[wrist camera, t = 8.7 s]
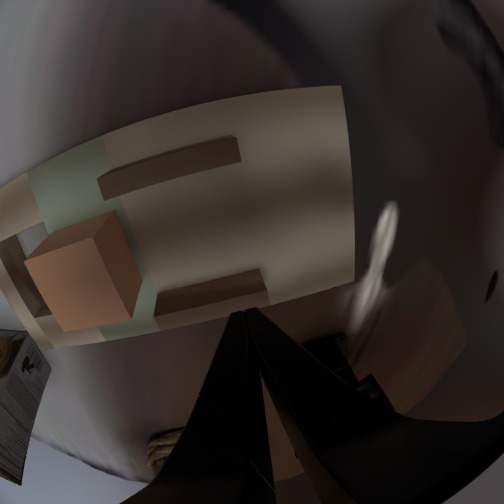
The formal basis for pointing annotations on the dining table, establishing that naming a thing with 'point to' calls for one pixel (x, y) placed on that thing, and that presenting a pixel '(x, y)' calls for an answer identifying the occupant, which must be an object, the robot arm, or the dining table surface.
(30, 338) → the coffee box
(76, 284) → the block
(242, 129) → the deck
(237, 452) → the robot arm
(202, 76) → the dining table surface
